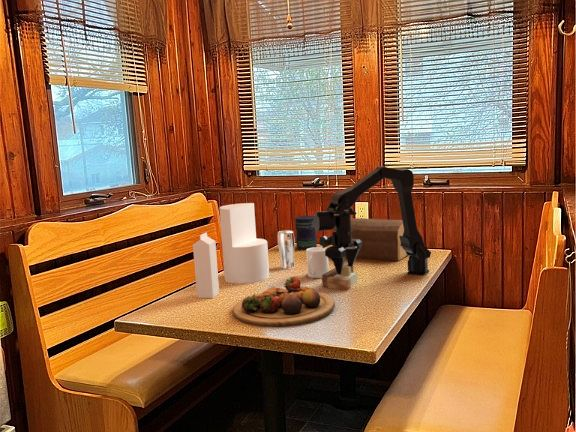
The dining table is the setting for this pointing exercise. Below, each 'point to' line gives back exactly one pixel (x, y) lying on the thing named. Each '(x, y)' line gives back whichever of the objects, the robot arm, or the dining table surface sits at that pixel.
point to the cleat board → (336, 280)
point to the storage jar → (305, 232)
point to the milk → (206, 267)
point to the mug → (316, 262)
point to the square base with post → (348, 274)
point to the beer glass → (286, 248)
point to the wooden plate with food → (284, 306)
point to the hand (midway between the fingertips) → (344, 271)
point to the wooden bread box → (378, 238)
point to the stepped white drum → (242, 245)
